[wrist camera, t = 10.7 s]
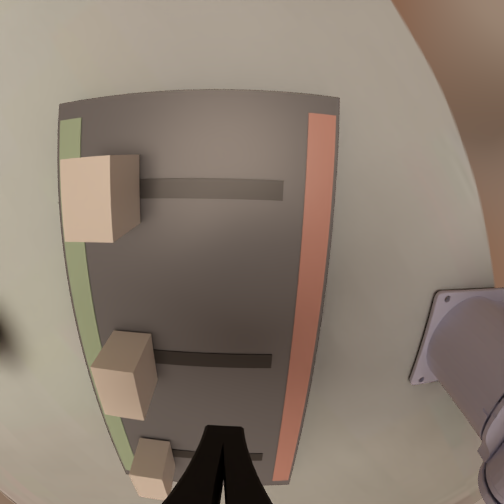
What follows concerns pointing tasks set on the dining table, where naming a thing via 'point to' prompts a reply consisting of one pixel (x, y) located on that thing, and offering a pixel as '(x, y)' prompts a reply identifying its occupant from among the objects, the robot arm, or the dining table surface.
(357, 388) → the dining table surface
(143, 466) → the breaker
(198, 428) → the breaker panel
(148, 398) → the breaker middle
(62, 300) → the dining table surface
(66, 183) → the block
